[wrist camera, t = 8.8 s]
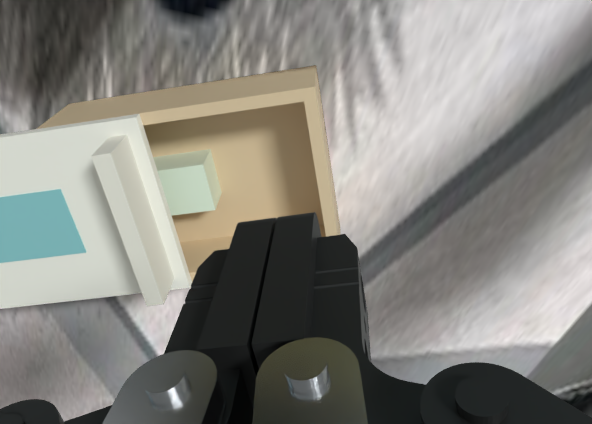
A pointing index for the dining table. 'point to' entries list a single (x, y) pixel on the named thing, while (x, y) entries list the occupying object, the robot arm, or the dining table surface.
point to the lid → (85, 216)
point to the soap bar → (189, 181)
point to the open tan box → (236, 149)
